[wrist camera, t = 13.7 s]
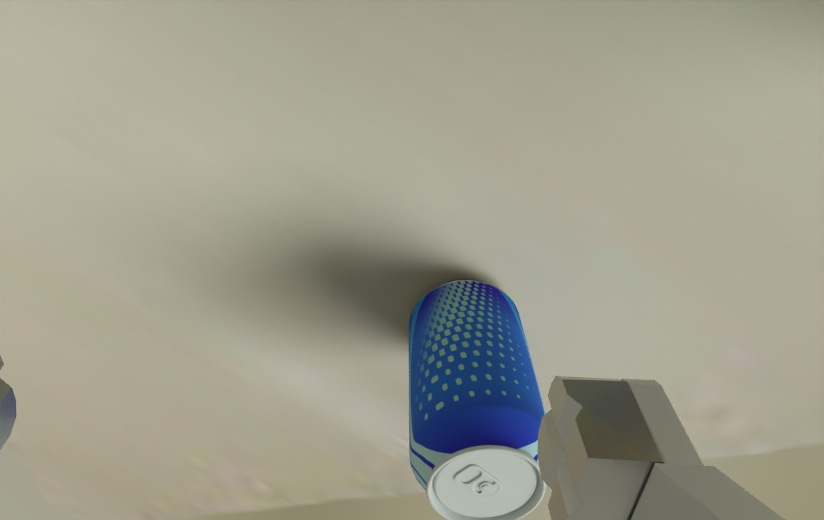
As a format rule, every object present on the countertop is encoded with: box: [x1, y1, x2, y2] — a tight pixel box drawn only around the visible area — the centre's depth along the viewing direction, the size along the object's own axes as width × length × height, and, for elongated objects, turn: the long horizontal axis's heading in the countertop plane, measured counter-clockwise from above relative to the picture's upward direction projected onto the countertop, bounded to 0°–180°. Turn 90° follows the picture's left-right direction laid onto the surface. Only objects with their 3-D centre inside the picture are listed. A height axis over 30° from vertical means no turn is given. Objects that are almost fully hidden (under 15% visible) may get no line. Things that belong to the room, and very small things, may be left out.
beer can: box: [409, 280, 546, 520], centre depth 40 cm, size 8×8×16 cm
